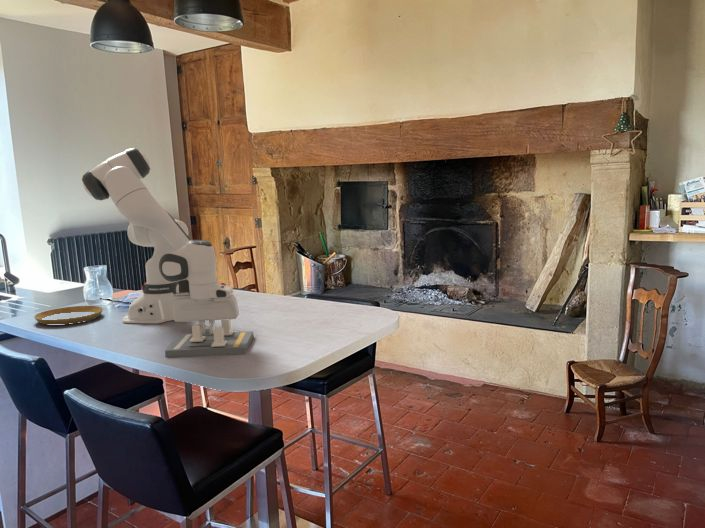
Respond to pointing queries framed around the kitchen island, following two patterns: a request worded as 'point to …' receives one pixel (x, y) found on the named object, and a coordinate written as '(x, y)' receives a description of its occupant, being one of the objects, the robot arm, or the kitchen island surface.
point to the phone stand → (183, 286)
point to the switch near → (218, 337)
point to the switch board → (234, 345)
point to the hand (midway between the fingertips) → (207, 333)
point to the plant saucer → (68, 310)
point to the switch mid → (197, 333)
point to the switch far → (227, 327)
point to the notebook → (121, 293)
